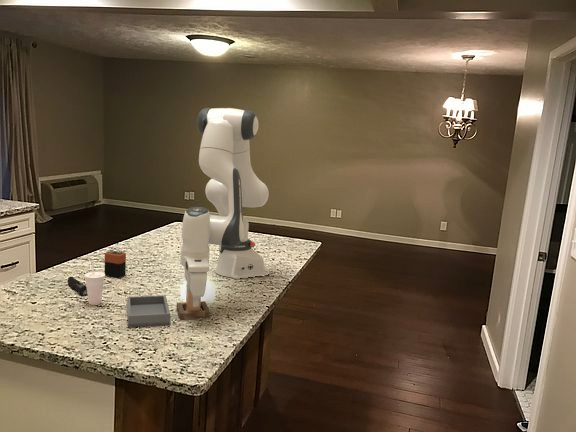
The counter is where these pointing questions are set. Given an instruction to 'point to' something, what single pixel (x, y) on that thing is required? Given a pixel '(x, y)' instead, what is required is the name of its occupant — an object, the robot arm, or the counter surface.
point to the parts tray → (148, 311)
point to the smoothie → (94, 286)
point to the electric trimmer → (77, 286)
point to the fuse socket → (192, 314)
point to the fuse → (189, 301)
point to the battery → (115, 263)
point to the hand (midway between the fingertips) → (193, 300)
